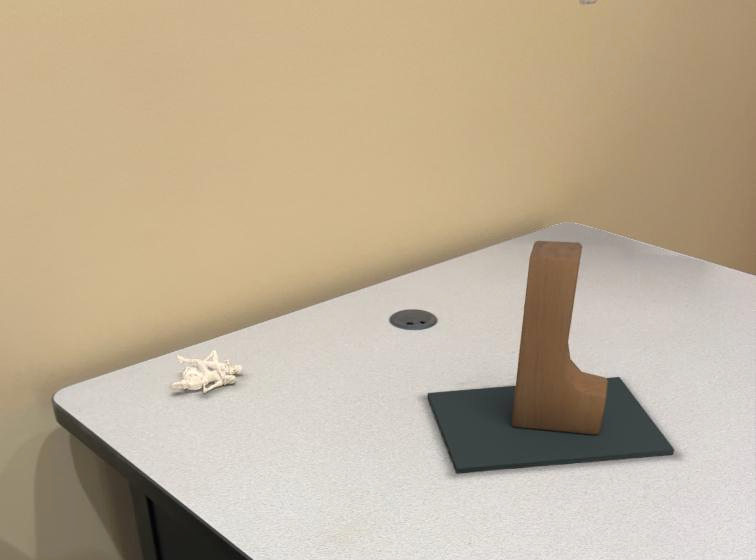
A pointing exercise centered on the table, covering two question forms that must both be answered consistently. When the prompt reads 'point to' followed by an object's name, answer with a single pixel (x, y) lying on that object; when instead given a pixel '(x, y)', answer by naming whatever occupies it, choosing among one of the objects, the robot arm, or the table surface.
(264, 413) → the table surface
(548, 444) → the mat
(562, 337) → the wooden block
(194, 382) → the figurine
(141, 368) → the table surface
